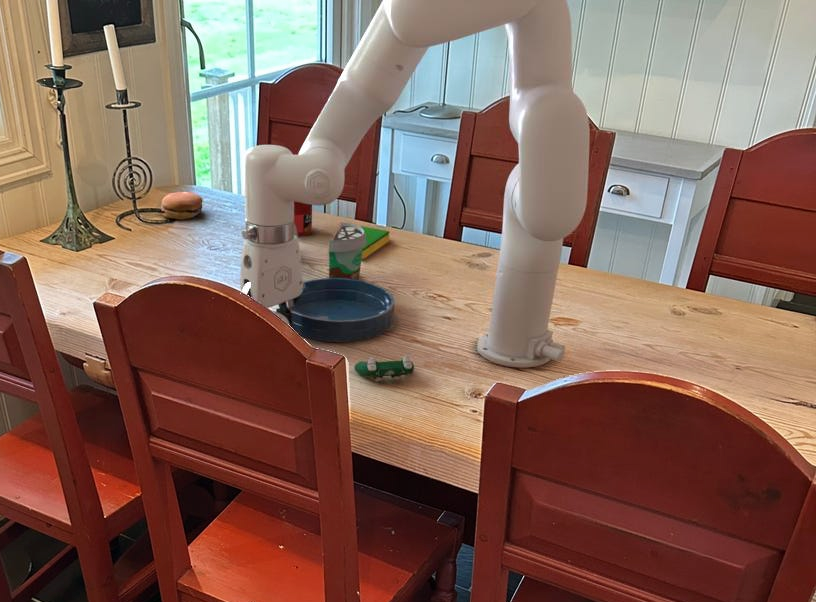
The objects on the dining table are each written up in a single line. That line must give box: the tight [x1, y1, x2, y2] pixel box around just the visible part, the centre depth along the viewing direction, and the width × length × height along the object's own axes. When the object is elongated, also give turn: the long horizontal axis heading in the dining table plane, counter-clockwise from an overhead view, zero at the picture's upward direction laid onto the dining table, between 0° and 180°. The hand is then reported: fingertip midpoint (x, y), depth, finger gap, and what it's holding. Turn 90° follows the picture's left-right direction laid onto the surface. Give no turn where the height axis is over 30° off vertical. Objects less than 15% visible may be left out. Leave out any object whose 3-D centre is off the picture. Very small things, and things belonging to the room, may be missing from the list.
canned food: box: [294, 201, 313, 237], centre depth 190 cm, size 8×8×11 cm
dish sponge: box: [360, 225, 390, 260], centre depth 184 cm, size 7×14×2 cm, turn 153°
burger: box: [160, 190, 204, 221], centre depth 200 cm, size 10×9×5 cm
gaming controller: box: [354, 355, 415, 382], centre depth 133 cm, size 9×4×6 cm
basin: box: [291, 277, 396, 343], centre depth 151 cm, size 20×20×4 cm
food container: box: [328, 221, 367, 280], centre depth 165 cm, size 12×6×10 cm, turn 168°
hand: (271, 337), depth 142 cm, fingers closed on egg, 5 cm apart
